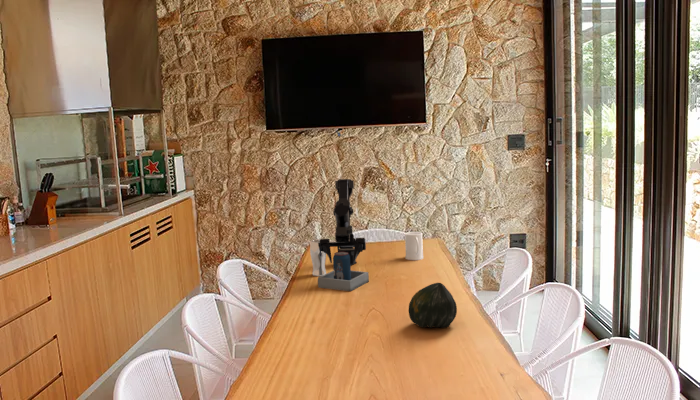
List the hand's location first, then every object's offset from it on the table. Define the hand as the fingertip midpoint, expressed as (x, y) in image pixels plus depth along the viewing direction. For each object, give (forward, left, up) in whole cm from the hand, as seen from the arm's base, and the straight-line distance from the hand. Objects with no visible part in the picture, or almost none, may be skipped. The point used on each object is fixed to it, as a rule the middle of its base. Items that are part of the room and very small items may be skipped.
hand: (342, 262), depth 247 cm
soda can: (-1, +1, -9) cm, 9 cm away
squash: (+51, -30, -10) cm, 60 cm away
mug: (+8, +52, -10) cm, 54 cm away
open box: (-1, +1, -9) cm, 10 cm away
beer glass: (-19, +11, -10) cm, 24 cm away
